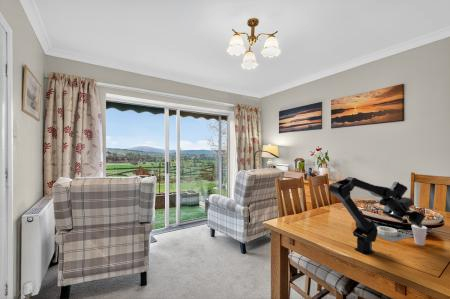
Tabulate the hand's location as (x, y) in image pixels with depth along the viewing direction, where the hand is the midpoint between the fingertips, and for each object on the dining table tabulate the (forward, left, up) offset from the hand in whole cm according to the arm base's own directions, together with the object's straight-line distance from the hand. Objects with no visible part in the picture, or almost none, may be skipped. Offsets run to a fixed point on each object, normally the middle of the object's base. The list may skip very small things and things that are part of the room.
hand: (411, 224), depth 113 cm
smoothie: (+4, -1, -11) cm, 12 cm away
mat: (+4, +15, -11) cm, 19 cm away
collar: (+4, +15, -11) cm, 19 cm away
